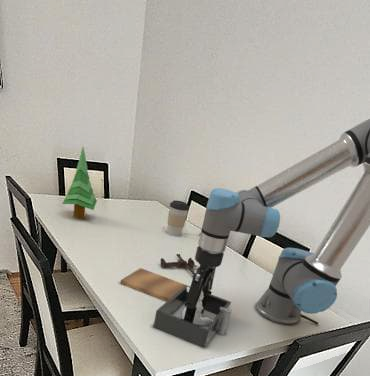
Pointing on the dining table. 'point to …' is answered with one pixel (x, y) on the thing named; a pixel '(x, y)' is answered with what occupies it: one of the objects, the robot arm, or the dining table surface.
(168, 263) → the brown humanoid figurine
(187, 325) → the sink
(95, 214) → the dining table surface
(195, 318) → the white creature statuette
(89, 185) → the decorative tree
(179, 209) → the coffee cup
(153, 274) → the board
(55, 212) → the dining table surface
